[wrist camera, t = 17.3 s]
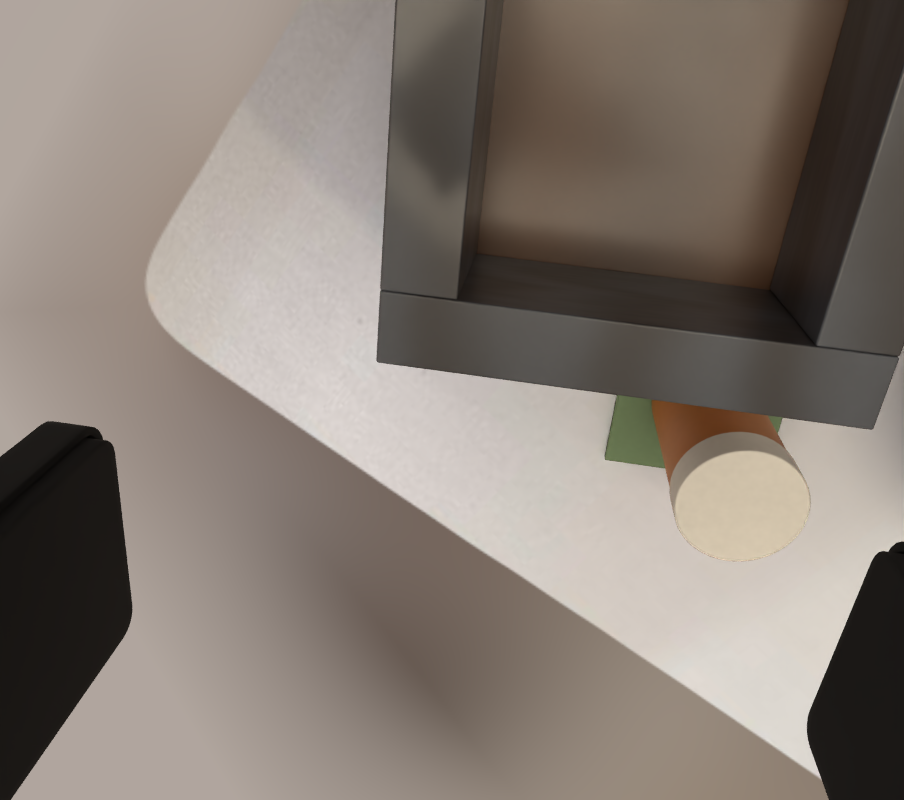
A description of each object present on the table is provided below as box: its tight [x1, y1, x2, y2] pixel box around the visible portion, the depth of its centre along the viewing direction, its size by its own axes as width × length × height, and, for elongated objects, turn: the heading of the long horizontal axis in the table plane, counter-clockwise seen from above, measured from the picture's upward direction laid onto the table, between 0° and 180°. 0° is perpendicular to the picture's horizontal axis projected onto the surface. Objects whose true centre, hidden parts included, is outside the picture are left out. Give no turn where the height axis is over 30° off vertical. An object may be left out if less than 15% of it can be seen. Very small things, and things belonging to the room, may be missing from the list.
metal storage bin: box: [377, 0, 904, 430], centre depth 32 cm, size 16×16×22 cm
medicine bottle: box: [652, 400, 811, 561], centre depth 42 cm, size 6×6×12 cm
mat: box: [605, 395, 782, 468], centre depth 48 cm, size 10×10×1 cm
